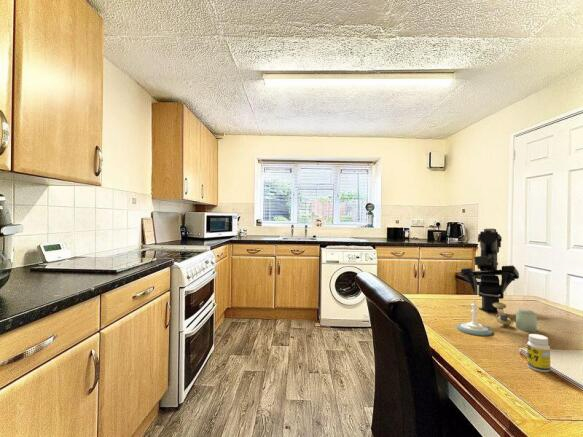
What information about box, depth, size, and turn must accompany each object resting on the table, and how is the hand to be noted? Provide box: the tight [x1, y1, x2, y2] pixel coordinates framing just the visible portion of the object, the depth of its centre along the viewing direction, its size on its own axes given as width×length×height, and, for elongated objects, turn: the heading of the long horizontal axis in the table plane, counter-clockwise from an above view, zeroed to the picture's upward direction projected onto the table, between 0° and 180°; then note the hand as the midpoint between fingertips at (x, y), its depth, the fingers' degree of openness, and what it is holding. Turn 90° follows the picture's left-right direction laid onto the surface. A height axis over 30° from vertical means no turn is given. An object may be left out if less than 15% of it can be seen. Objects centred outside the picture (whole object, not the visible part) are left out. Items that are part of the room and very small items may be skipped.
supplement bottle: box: [526, 333, 551, 373], centre depth 81 cm, size 5×5×8 cm
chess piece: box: [466, 298, 483, 329], centre depth 111 cm, size 5×5×10 cm
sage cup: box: [515, 308, 538, 333], centre depth 112 cm, size 6×6×7 cm
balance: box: [493, 301, 512, 325], centre depth 120 cm, size 17×5×6 cm, turn 152°
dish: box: [456, 322, 493, 337], centre depth 110 cm, size 11×11×1 cm
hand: (488, 292), depth 116 cm, fingers open, 9 cm apart
